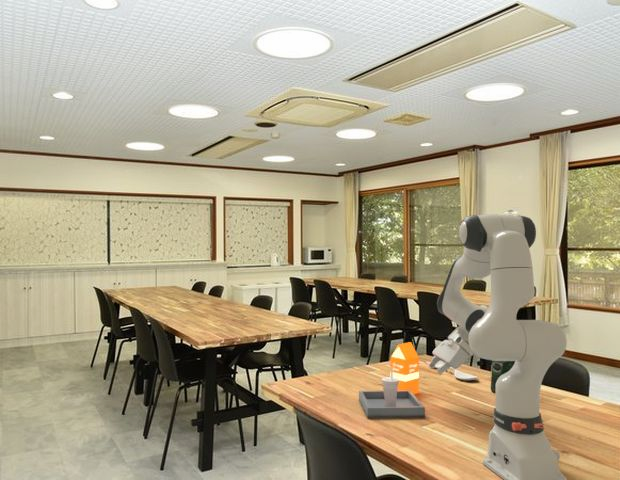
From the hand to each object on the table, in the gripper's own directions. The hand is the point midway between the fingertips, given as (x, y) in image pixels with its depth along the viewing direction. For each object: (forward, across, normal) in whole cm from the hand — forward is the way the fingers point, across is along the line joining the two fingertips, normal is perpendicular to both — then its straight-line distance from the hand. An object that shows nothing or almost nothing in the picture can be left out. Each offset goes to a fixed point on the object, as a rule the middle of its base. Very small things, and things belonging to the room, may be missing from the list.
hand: (433, 369), depth 178 cm
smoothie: (+21, -2, -2) cm, 21 cm away
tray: (+21, -2, -1) cm, 21 cm away
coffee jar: (-14, -19, +34) cm, 42 cm away
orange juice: (+14, -21, +6) cm, 26 cm away
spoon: (-7, -49, +26) cm, 56 cm away
